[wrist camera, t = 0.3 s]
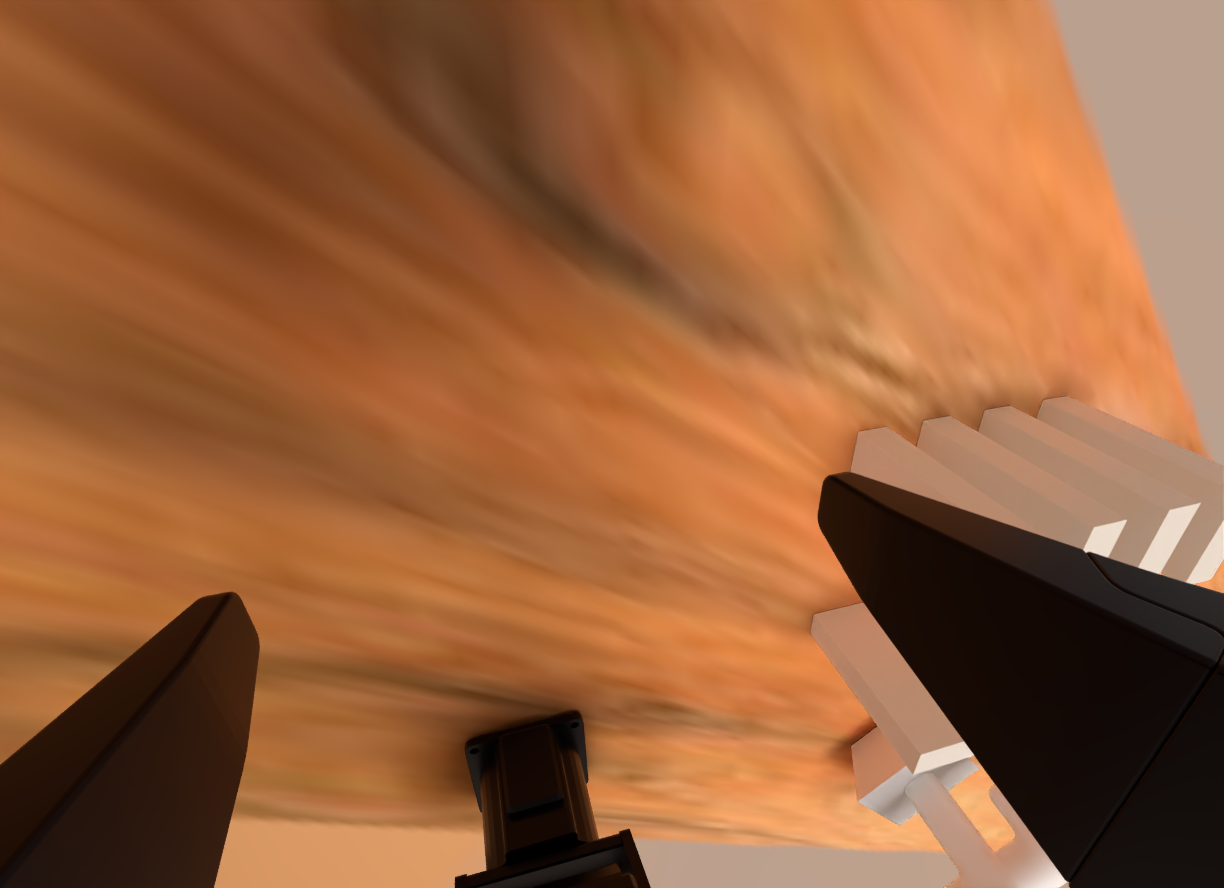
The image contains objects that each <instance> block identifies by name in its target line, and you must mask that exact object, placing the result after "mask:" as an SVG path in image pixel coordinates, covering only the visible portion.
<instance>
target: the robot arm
mask: <svg viewBox="0 0 1224 888" xmlns="http://www.w3.org/2000/svg"><path fill="white" fill-rule="evenodd" d="M818 523H819V527H820V529H821V531H822V533H823V535H824V536H825V538H826V540H827V542H828V543H829V545H830V547H831V549H832V550H833V552H834V554H835V555H836V557H837V559H838V561H839V562H840V564H841V566H842V567H843V569H844V571H845V573H846V574H847V576H848V578H849V580H850V581H851V583H852V585H853V586H854V588H855V590H856V592H857V593H858V595H859V596H860V598H861V600H862V601H863V603H864V604H865V606H866V607H867V609H868V610H869V611H870V613H871V614H872V616H873V617H874V619H875V620H876V621H877V623H878V624H879V625H880V627H881V628H882V630H883V631H884V632H885V634H886V635H887V636H888V638H889V639H890V641H891V642H892V643H893V645H894V646H895V647H896V649H897V650H898V652H899V653H900V654H901V656H902V657H903V658H904V660H905V661H906V662H907V664H908V665H909V667H910V668H911V669H912V671H913V672H914V673H915V675H916V676H917V678H918V679H919V680H920V682H921V683H922V684H923V686H924V687H925V689H926V690H927V691H928V693H929V694H930V695H931V697H932V698H933V700H934V701H935V702H936V704H937V705H938V706H939V708H940V709H941V711H942V712H943V713H944V715H945V716H946V717H947V719H948V720H949V722H950V723H951V724H952V726H953V727H954V728H955V730H956V731H957V733H958V734H959V735H960V737H961V738H962V739H963V741H964V742H965V744H966V745H967V746H968V748H969V749H970V750H971V752H972V753H973V755H974V756H975V757H976V759H977V760H978V761H979V763H980V764H981V766H982V767H983V768H984V770H985V771H986V772H987V774H988V775H989V777H990V778H991V779H992V781H993V782H994V783H995V785H996V786H997V788H998V789H999V790H1000V792H1001V793H1002V794H1003V796H1004V797H1005V799H1006V800H1007V801H1008V803H1009V804H1010V805H1011V807H1012V808H1013V810H1014V811H1015V812H1016V814H1017V815H1018V816H1019V818H1020V819H1021V820H1022V822H1023V823H1024V825H1025V826H1026V827H1027V829H1028V830H1029V831H1030V833H1031V834H1032V836H1033V837H1034V838H1035V840H1036V841H1037V842H1038V844H1039V845H1040V847H1041V848H1042V849H1043V851H1044V852H1045V853H1046V855H1047V856H1048V858H1049V859H1050V860H1051V862H1052V863H1053V864H1054V866H1055V867H1056V869H1057V870H1058V871H1059V873H1060V874H1061V875H1062V877H1063V878H1064V880H1065V881H1067V882H1069V887H1070V888H1224V593H1220V592H1217V591H1214V590H1210V589H1207V588H1203V587H1200V586H1197V585H1193V584H1190V583H1187V582H1183V581H1180V580H1177V579H1173V578H1170V577H1166V576H1163V575H1160V574H1157V573H1154V572H1151V571H1148V570H1144V569H1141V568H1138V567H1135V566H1132V565H1129V564H1126V563H1123V562H1120V561H1117V560H1114V559H1111V558H1108V557H1105V556H1102V555H1099V554H1096V553H1093V552H1085V551H1084V550H1083V549H1080V548H1077V547H1074V546H1071V545H1068V544H1065V543H1062V542H1059V541H1056V540H1053V539H1050V538H1047V537H1044V536H1041V535H1038V534H1035V533H1032V532H1029V531H1026V530H1023V529H1021V528H1018V527H1015V526H1012V525H1009V524H1006V523H1003V522H1000V521H997V520H994V519H991V518H988V517H985V516H982V515H979V514H976V513H973V512H970V511H967V510H964V509H961V508H958V507H955V506H952V505H949V504H946V503H943V502H940V501H937V500H934V499H931V498H928V497H925V496H922V495H919V494H916V493H913V492H910V491H907V490H904V489H901V488H898V487H895V486H892V485H889V484H886V483H883V482H880V481H877V480H874V479H871V478H868V477H865V476H862V475H859V474H856V473H853V472H843V473H838V474H833V475H829V476H827V477H826V478H825V480H824V481H823V485H822V491H821V497H820V503H819V510H818ZM259 650H260V644H259V637H258V634H257V631H256V629H255V627H254V625H253V623H252V621H251V619H250V616H249V614H248V612H247V610H246V608H245V606H244V604H243V602H242V600H241V598H240V597H239V595H238V594H237V593H234V592H225V593H220V594H215V595H210V596H205V597H202V598H200V599H198V600H197V601H195V602H194V603H193V604H192V605H191V606H189V607H188V608H187V609H186V610H185V611H183V612H182V613H181V614H180V615H179V616H177V617H176V618H175V619H174V620H173V621H171V622H170V623H169V624H168V625H167V626H165V627H164V628H163V629H162V630H161V631H160V632H158V633H157V634H156V635H155V636H154V637H152V638H151V639H150V640H149V641H148V642H146V643H145V644H144V645H143V646H142V647H140V648H139V649H138V650H137V651H136V652H134V653H133V654H132V655H131V656H130V657H128V658H127V659H126V660H125V661H124V662H122V663H121V664H120V665H119V666H118V667H117V668H115V669H114V670H113V671H112V672H111V673H109V674H108V675H107V676H106V677H105V678H103V679H102V680H101V681H100V682H99V683H97V684H96V685H95V686H94V687H93V688H91V689H90V690H89V691H88V692H87V693H85V694H84V695H83V696H82V697H81V698H79V699H78V700H77V701H76V702H75V703H74V704H72V705H71V706H70V707H69V708H68V709H66V710H65V711H64V712H63V713H62V714H60V715H59V716H58V717H57V718H56V719H54V720H53V721H52V722H51V723H50V724H48V725H47V726H46V727H45V728H44V729H42V730H41V731H40V732H39V733H38V734H36V735H35V736H34V737H33V738H32V739H30V740H29V741H28V742H27V743H26V744H24V745H23V746H22V747H21V748H20V749H19V750H17V751H16V752H15V753H14V754H13V755H11V756H10V757H9V758H8V759H7V760H5V761H4V762H3V763H2V764H1V765H0V888H214V885H215V881H216V877H217V873H218V869H219V865H220V861H221V856H222V853H223V849H224V845H225V841H226V837H227V833H228V828H229V824H230V820H231V816H232V812H233V808H234V804H235V800H236V796H237V792H238V788H239V784H240V780H241V776H242V772H243V767H244V762H245V758H246V752H247V746H248V739H249V731H250V723H251V715H252V707H253V699H254V691H255V683H256V675H257V667H258V659H259ZM465 755H466V759H467V763H468V766H469V770H470V774H471V778H472V782H473V786H474V790H475V794H476V798H477V802H478V806H479V809H480V812H482V816H483V829H484V843H485V856H486V870H487V871H483V872H480V873H476V874H472V875H469V876H467V874H464V875H461V876H457V877H455V888H651V887H650V884H649V882H648V879H647V876H646V873H645V871H644V868H643V865H642V862H641V859H640V857H639V854H638V851H637V848H636V845H635V843H634V840H633V837H632V834H631V831H630V829H626V830H622V831H619V834H616V835H612V836H608V837H605V838H601V839H599V837H598V833H597V829H596V824H595V820H594V816H593V811H592V807H591V803H590V798H589V794H588V790H587V785H586V784H587V783H588V770H587V758H586V746H585V735H584V723H583V719H582V716H581V714H579V713H572V714H568V715H564V716H560V717H556V718H552V719H548V720H545V721H541V722H537V723H533V724H529V725H525V726H521V727H517V728H513V729H509V730H505V731H501V732H498V733H494V734H490V735H486V736H482V737H478V738H474V739H471V740H469V741H468V742H466V744H465Z"/></svg>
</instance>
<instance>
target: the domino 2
mask: <svg viewBox="0 0 1224 888" xmlns="http://www.w3.org/2000/svg"><path fill="white" fill-rule="evenodd" d="M810 634H811V635H812V637H813V638H814V639H815V641H816V642H817V644H818V645H819V646H820V648H821V649H822V650H823V652H824V653H825V655H826V656H827V657H828V659H829V660H830V661H831V663H832V664H833V666H834V667H835V668H836V670H837V671H838V672H839V674H840V675H841V677H842V678H843V679H844V681H845V682H846V684H847V685H848V686H849V688H850V689H851V690H852V692H853V693H854V695H855V696H856V697H857V699H858V700H859V701H860V703H861V704H862V706H863V707H864V708H865V710H866V711H867V712H868V714H869V715H870V717H871V718H872V719H873V721H874V722H875V723H876V725H877V726H878V728H879V729H880V730H881V732H882V733H883V734H884V736H885V737H886V739H887V740H888V741H889V743H890V744H891V745H892V747H893V748H894V750H895V751H896V752H897V754H898V755H899V756H900V758H901V759H902V761H903V762H904V763H905V765H906V766H907V768H908V769H909V770H910V772H911V773H912V774H913V775H915V774H918V773H921V772H924V771H927V770H931V769H934V768H937V767H940V766H943V765H946V764H949V763H953V762H956V761H959V760H962V759H965V758H968V757H971V756H974V755H973V753H972V752H971V750H970V749H969V748H968V746H967V745H966V744H965V742H964V741H963V739H962V738H961V737H960V735H959V734H958V733H957V731H956V730H955V728H954V727H953V726H952V724H951V723H950V722H949V720H948V719H947V717H946V716H945V715H944V713H943V712H942V711H941V709H940V708H939V706H938V705H937V704H936V702H935V701H934V700H933V698H932V697H931V695H930V694H929V693H928V691H927V690H926V689H925V687H924V686H923V684H922V683H921V682H920V680H919V679H918V678H917V676H916V675H915V673H914V672H913V671H912V669H911V668H910V667H909V665H908V664H907V662H906V661H905V660H904V658H903V657H902V656H901V654H900V653H899V652H898V650H897V649H896V647H895V646H894V645H893V643H892V642H891V641H890V639H889V638H888V636H887V635H886V634H885V632H884V631H883V630H882V628H881V627H880V625H879V624H878V623H877V621H876V620H875V619H874V617H873V616H872V614H871V613H870V611H869V610H868V609H867V607H866V606H865V604H864V603H858V604H854V605H850V606H846V607H842V608H838V609H834V610H829V611H825V612H821V613H817V614H814V616H813V621H812V626H811V631H810Z"/></svg>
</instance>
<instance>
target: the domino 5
mask: <svg viewBox="0 0 1224 888" xmlns="http://www.w3.org/2000/svg"><path fill="white" fill-rule="evenodd" d="M1036 419H1038V420H1040V421H1042V422H1044V423H1046V424H1048V425H1050V426H1052V427H1053V428H1055V429H1057V430H1059V431H1061V432H1063V433H1065V434H1067V435H1069V436H1071V437H1073V438H1075V439H1077V440H1079V441H1081V442H1083V443H1085V444H1087V445H1089V446H1091V447H1093V448H1095V449H1097V450H1099V451H1101V452H1103V453H1104V454H1106V455H1108V456H1110V457H1112V458H1114V459H1116V460H1118V461H1120V462H1122V463H1124V464H1126V465H1128V466H1130V467H1132V468H1134V469H1136V470H1138V471H1140V472H1142V473H1144V474H1146V475H1148V476H1150V477H1152V478H1153V479H1155V480H1157V481H1159V482H1161V483H1163V484H1165V485H1167V486H1169V487H1171V488H1173V489H1175V490H1177V491H1179V492H1181V493H1183V494H1185V495H1187V496H1189V497H1191V498H1193V499H1195V500H1197V501H1199V502H1201V504H1200V505H1199V507H1198V509H1197V511H1196V512H1195V514H1194V516H1193V518H1192V519H1191V521H1190V523H1189V524H1188V526H1187V528H1186V530H1185V531H1184V533H1183V535H1182V537H1181V538H1180V540H1179V542H1178V543H1177V545H1176V547H1175V549H1174V550H1173V552H1172V554H1171V556H1170V557H1169V559H1168V561H1167V562H1166V564H1165V566H1164V568H1163V569H1162V571H1161V573H1162V574H1164V575H1165V576H1167V577H1170V578H1173V579H1177V580H1180V581H1183V582H1187V583H1190V584H1195V583H1199V582H1203V581H1207V580H1210V579H1211V578H1212V576H1213V575H1214V573H1215V572H1216V570H1217V569H1218V567H1219V565H1220V564H1221V562H1222V561H1223V559H1224V466H1223V465H1221V464H1218V463H1216V462H1214V461H1212V460H1210V459H1207V458H1205V457H1203V456H1201V455H1199V454H1196V453H1194V452H1192V451H1190V450H1187V449H1185V448H1183V447H1181V446H1178V445H1176V444H1174V443H1172V442H1170V441H1167V440H1165V439H1163V438H1161V437H1158V436H1156V435H1154V434H1152V433H1149V432H1147V431H1145V430H1143V429H1141V428H1138V427H1136V426H1134V425H1132V424H1129V423H1127V422H1125V421H1123V420H1120V419H1118V418H1116V417H1114V416H1112V415H1109V414H1107V413H1105V412H1103V411H1100V410H1098V409H1096V408H1094V407H1091V406H1089V405H1087V404H1085V403H1083V402H1080V401H1078V400H1076V399H1074V398H1071V397H1069V396H1064V397H1058V398H1052V399H1046V400H1043V402H1042V404H1041V407H1040V410H1039V412H1038V415H1037V418H1036Z"/></svg>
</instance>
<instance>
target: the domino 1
mask: <svg viewBox="0 0 1224 888" xmlns="http://www.w3.org/2000/svg"><path fill="white" fill-rule="evenodd" d="M850 472H853V473H856V474H859V475H862V476H865V477H868V478H871V479H874V480H877V481H880V482H883V483H886V484H889V485H892V486H895V487H898V488H901V489H904V490H907V491H910V492H913V493H916V494H919V495H922V496H925V497H928V498H931V499H934V500H937V501H940V502H943V503H946V504H949V505H952V506H955V507H958V508H961V509H964V510H967V511H970V512H973V513H976V514H979V515H982V516H985V517H988V518H991V519H994V520H997V521H1000V522H1003V523H1006V524H1009V525H1012V526H1015V527H1018V528H1021V529H1023V530H1026V531H1029V532H1032V533H1035V534H1038V535H1041V536H1044V535H1043V534H1041V533H1040V532H1039V531H1037V530H1036V529H1034V528H1033V527H1031V526H1030V525H1028V524H1027V523H1026V522H1024V521H1023V520H1021V519H1020V518H1018V517H1017V516H1015V515H1014V514H1013V513H1011V512H1010V511H1008V510H1007V509H1005V508H1004V507H1002V506H1001V505H1000V504H998V503H997V502H995V501H994V500H992V499H991V498H989V497H988V496H987V495H985V494H984V493H982V492H981V491H979V490H978V489H976V488H975V487H974V486H972V485H971V484H969V483H968V482H966V481H965V480H963V479H962V478H961V477H959V476H958V475H956V474H955V473H953V472H952V471H950V470H949V469H948V468H946V467H945V466H943V465H942V464H940V463H939V462H937V461H936V460H935V459H933V458H932V457H930V456H929V455H927V454H926V453H924V452H923V451H921V450H920V449H919V448H917V447H916V446H914V445H913V444H911V443H910V442H908V441H907V440H906V439H904V438H903V437H901V436H900V435H898V434H897V433H895V432H894V431H893V430H891V429H890V428H888V427H882V428H876V429H870V430H864V431H858V436H857V441H856V446H855V451H854V456H853V461H852V466H851V471H850ZM1044 537H1046V536H1044Z"/></svg>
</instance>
